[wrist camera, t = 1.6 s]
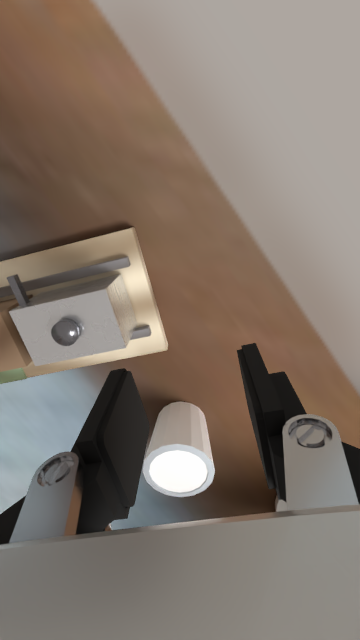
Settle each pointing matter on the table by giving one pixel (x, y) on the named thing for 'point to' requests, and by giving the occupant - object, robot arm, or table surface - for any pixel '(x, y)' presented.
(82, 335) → the knobbed grey slider
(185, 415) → the shot glass
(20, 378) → the gauge bed
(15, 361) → the walnut block
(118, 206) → the table surface
